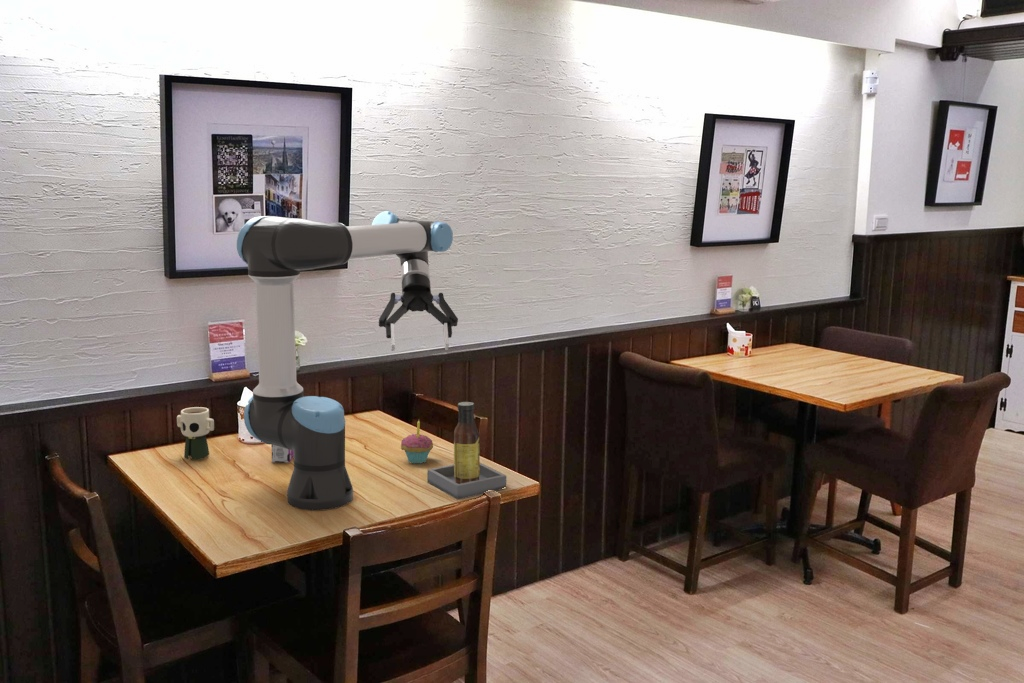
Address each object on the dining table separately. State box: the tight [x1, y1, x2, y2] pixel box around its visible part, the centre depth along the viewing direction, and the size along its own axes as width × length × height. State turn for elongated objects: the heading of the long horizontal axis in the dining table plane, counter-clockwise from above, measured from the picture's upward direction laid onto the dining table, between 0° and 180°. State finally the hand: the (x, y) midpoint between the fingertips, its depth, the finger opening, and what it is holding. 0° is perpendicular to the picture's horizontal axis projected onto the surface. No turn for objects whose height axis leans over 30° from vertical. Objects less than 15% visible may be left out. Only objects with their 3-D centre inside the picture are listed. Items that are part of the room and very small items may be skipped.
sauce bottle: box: [453, 401, 481, 484], centre depth 224 cm, size 6×6×20 cm
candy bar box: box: [271, 445, 294, 464], centre depth 243 cm, size 11×5×16 cm, turn 2°
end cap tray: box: [427, 462, 508, 500], centre depth 226 cm, size 14×14×3 cm
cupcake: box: [400, 419, 434, 464], centre depth 243 cm, size 9×8×12 cm
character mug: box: [176, 406, 215, 461], centre depth 241 cm, size 11×7×13 cm, turn 74°
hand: (420, 347), depth 233 cm, fingers open, 13 cm apart
